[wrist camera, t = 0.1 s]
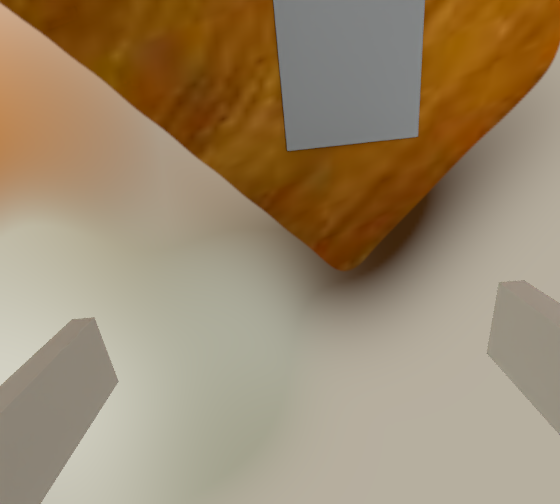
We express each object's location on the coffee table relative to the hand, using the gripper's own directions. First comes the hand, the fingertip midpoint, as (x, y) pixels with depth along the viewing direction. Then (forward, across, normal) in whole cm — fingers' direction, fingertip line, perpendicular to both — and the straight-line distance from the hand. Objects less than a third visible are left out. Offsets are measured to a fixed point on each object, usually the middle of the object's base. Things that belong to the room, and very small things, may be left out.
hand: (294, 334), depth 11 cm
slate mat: (+28, +8, +11) cm, 31 cm away
